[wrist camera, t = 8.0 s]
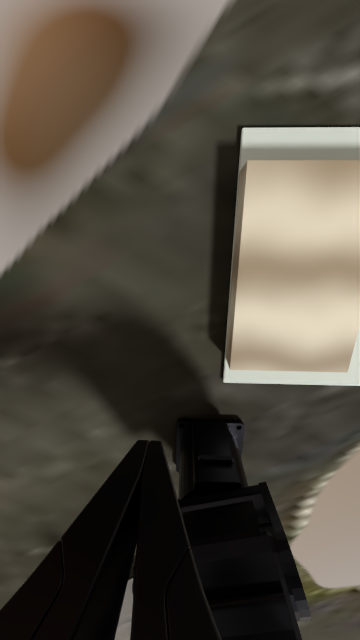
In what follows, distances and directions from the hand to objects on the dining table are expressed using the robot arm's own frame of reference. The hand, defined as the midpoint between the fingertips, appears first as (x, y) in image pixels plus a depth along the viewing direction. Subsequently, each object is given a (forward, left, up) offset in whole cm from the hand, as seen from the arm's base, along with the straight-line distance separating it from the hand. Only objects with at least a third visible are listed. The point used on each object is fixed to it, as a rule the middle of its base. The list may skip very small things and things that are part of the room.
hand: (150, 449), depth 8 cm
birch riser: (+5, -9, -12) cm, 16 cm away
